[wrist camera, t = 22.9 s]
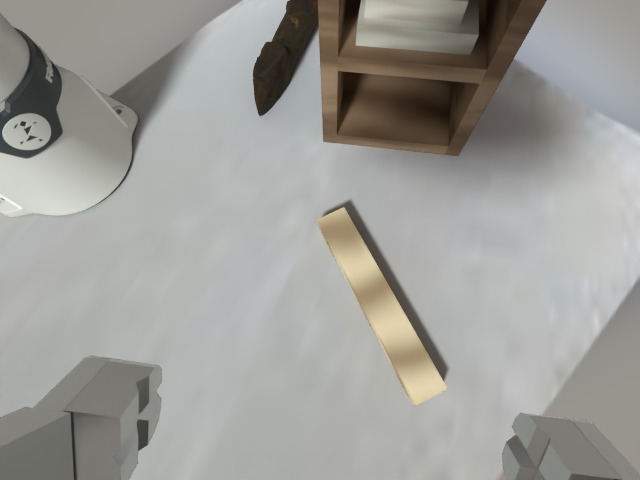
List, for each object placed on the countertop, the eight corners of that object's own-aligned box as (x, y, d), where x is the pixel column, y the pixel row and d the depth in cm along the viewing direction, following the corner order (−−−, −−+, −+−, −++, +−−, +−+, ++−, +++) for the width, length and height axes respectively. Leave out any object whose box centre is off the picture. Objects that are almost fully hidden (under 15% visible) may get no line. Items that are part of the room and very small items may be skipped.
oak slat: (440, 387, 35) (447, 388, 33) (411, 403, 35) (416, 405, 33) (343, 215, 42) (344, 206, 39) (318, 228, 41) (317, 219, 39)
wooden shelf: (458, 155, 43) (619, -128, 19) (323, 141, 45) (312, -141, 20) (460, 76, 47) (594, -242, 23) (336, 65, 49) (339, -247, 24)
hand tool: (306, -8, 54) (303, -49, 49) (337, 0, 53) (337, -41, 48) (237, 112, 47) (225, 79, 42) (271, 122, 46) (263, 90, 41)
